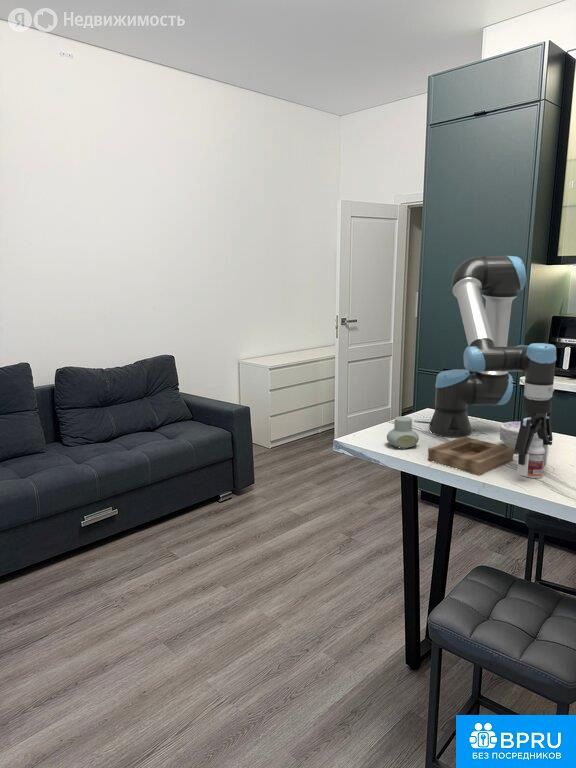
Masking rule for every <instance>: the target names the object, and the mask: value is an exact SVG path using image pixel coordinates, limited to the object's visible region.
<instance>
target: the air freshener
mask: <svg viewBox="0 0 576 768" xmlns="http://www.w3.org/2000/svg"><path fill="white" fill-rule="evenodd" d="M393 423H394V427H393V428H392V429H391V430H389V431H388V432H387V433H386V440H387V443H388V444H390V445H391V446H393V447H394V448H398V447H400V448H399V449H401V448H407V449H409V447H410V448H412V447H415V446H416V445H417V444H418V443H419V440H420V437H419V434H418V432H416V431H415V430H414V429H412V427H413V419H412V418H411V417H410V416H402V415H401V416H400V415H399V416H396V417H394V422H393Z"/></svg>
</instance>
